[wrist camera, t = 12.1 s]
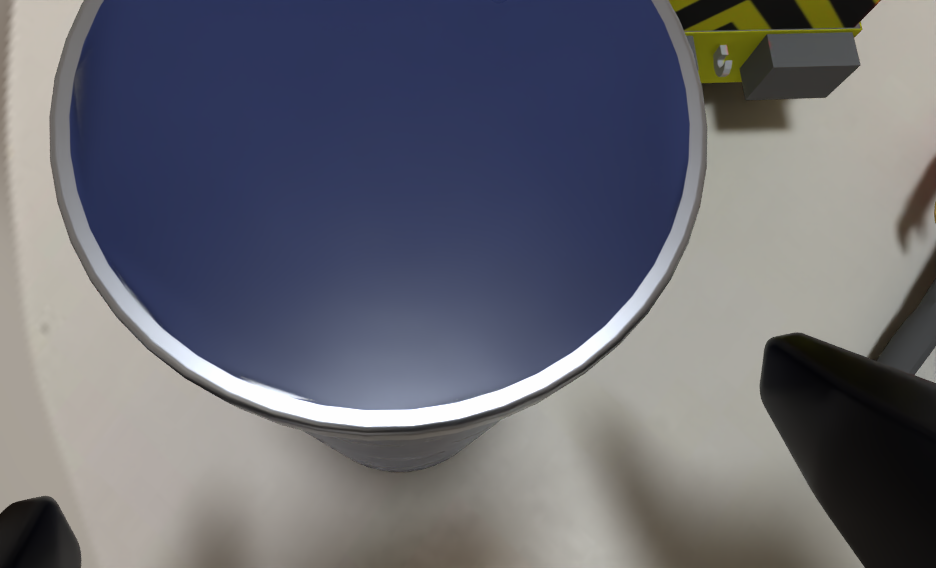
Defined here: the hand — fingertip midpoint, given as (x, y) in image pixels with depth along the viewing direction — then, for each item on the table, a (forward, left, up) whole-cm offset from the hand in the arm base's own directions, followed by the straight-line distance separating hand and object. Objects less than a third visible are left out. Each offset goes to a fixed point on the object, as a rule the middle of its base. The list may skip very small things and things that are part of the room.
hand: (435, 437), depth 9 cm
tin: (+2, +1, -10) cm, 10 cm away
